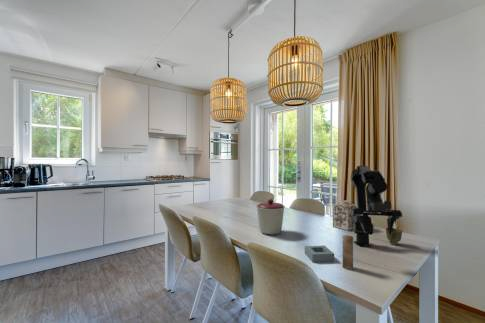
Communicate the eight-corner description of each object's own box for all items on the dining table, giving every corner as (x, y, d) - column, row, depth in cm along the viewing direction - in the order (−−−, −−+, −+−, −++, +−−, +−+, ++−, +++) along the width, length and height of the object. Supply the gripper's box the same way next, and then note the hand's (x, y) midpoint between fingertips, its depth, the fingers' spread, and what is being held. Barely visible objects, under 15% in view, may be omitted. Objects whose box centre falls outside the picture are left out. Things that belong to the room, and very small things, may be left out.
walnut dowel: (340, 265, 99) (340, 235, 99) (349, 265, 99) (349, 235, 99) (345, 269, 95) (345, 238, 95) (355, 269, 95) (355, 238, 95)
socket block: (304, 253, 112) (304, 246, 112) (324, 252, 113) (324, 245, 113) (312, 262, 102) (312, 254, 102) (334, 261, 103) (334, 253, 103)
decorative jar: (358, 228, 153) (358, 201, 153) (348, 231, 147) (348, 203, 147) (341, 224, 163) (341, 198, 163) (331, 226, 157) (331, 200, 157)
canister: (264, 238, 133) (264, 202, 133) (251, 230, 150) (251, 197, 150) (290, 234, 140) (290, 200, 140) (275, 226, 157) (275, 195, 157)
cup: (382, 242, 126) (382, 228, 126) (391, 241, 129) (391, 226, 129) (396, 247, 119) (396, 232, 119) (405, 245, 122) (405, 230, 122)
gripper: (354, 192, 98) (357, 230, 93) (404, 194, 94) (410, 234, 88) (349, 198, 108) (352, 232, 103) (394, 199, 104) (399, 235, 98)
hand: (377, 233), depth 98 cm, fingers open, 9 cm apart
